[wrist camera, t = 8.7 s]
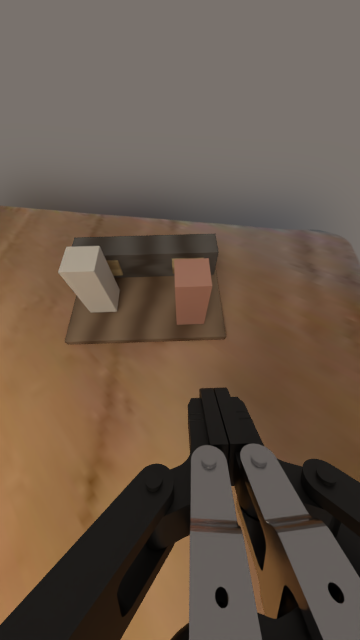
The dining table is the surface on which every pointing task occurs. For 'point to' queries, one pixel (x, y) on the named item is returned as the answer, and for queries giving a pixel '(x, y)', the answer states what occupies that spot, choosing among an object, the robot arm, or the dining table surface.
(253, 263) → the dining table surface
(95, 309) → the cream key
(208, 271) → the brick key
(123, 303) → the switch board
